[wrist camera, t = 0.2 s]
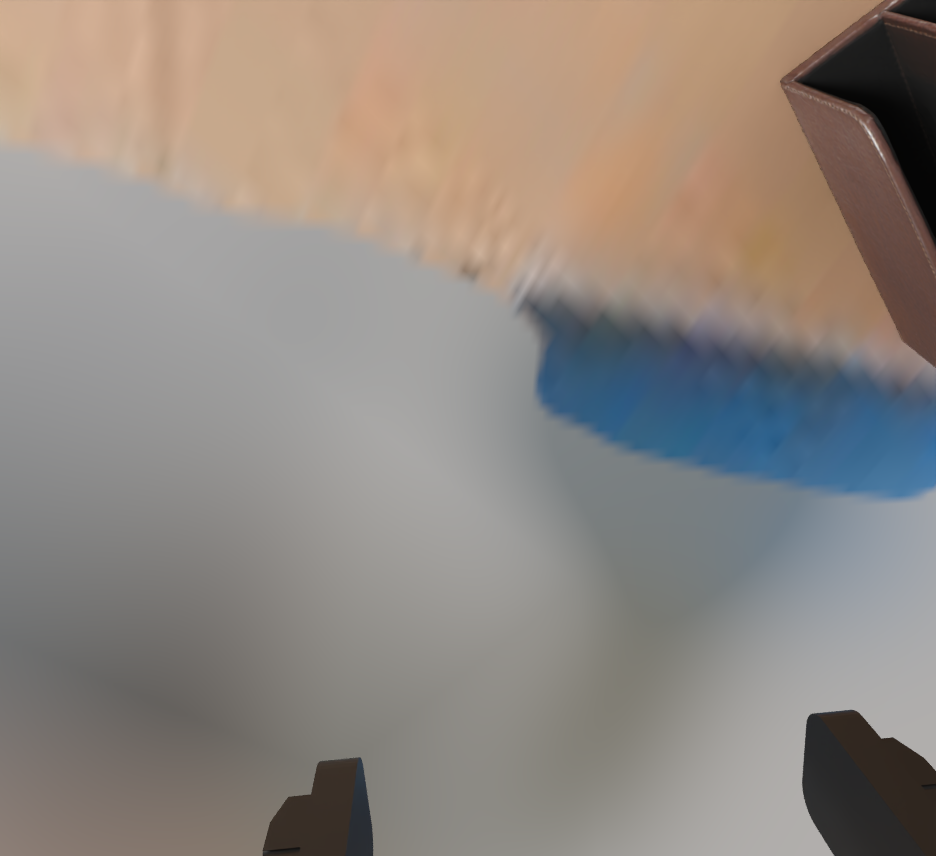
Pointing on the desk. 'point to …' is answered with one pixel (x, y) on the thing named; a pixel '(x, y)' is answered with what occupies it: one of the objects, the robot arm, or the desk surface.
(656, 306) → the desk surface
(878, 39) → the letter holder
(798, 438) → the desk surface
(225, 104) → the desk surface
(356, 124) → the desk surface
